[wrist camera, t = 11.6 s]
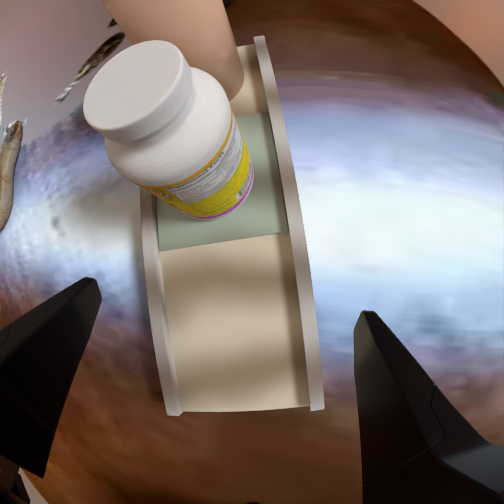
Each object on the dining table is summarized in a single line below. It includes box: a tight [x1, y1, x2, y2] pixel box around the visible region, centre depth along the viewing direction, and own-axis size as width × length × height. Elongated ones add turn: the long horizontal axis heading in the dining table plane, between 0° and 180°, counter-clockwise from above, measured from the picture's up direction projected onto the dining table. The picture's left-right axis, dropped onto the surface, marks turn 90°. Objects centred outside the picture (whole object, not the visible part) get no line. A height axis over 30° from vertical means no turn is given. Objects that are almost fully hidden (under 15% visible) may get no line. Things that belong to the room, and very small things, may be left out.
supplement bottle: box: [83, 40, 254, 220], centre depth 16 cm, size 7×7×13 cm
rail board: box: [140, 36, 325, 416], centre depth 22 cm, size 32×12×2 cm, turn 7°
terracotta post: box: [102, 0, 244, 101], centre depth 17 cm, size 7×7×13 cm
